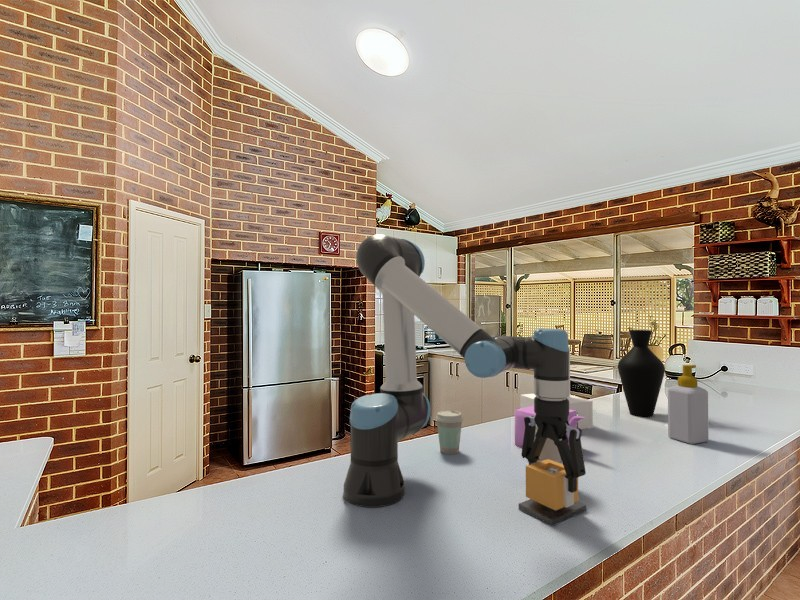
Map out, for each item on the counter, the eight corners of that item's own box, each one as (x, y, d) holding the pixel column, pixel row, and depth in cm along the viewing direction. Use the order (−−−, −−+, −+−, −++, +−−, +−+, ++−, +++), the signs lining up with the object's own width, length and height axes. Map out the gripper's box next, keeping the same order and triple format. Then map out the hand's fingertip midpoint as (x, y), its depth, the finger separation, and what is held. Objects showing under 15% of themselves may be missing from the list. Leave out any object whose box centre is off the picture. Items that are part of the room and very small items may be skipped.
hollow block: (555, 510, 93) (555, 477, 93) (525, 496, 99) (525, 466, 99) (578, 501, 97) (578, 469, 97) (548, 488, 104) (548, 459, 104)
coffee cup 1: (462, 456, 132) (462, 417, 132) (434, 454, 134) (434, 416, 134) (463, 447, 141) (463, 410, 141) (437, 445, 142) (437, 409, 142)
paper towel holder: (520, 419, 174) (520, 344, 174) (560, 415, 180) (559, 343, 180) (550, 432, 156) (549, 349, 156) (592, 428, 162) (592, 347, 162)
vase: (628, 407, 192) (627, 328, 192) (672, 415, 179) (671, 330, 179) (610, 414, 181) (610, 330, 181) (655, 422, 168) (654, 332, 168)
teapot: (570, 463, 126) (570, 415, 127) (503, 441, 146) (502, 400, 147) (598, 452, 135) (597, 407, 136) (531, 433, 156) (530, 394, 156)
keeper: (552, 525, 91) (551, 481, 91) (518, 509, 99) (518, 468, 99) (586, 510, 98) (585, 469, 98) (552, 495, 105) (552, 457, 105)
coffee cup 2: (540, 490, 108) (540, 430, 108) (520, 476, 117) (519, 420, 117) (573, 486, 111) (573, 427, 111) (551, 472, 120) (550, 417, 120)
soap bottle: (710, 442, 145) (709, 366, 145) (692, 445, 141) (691, 368, 142) (684, 434, 153) (683, 363, 153) (666, 437, 150) (665, 364, 150)
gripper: (604, 403, 92) (604, 511, 92) (525, 387, 109) (526, 478, 109) (582, 408, 88) (583, 521, 87) (505, 391, 105) (505, 485, 105)
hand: (551, 497), depth 98 cm, fingers closed on hollow block, 8 cm apart
